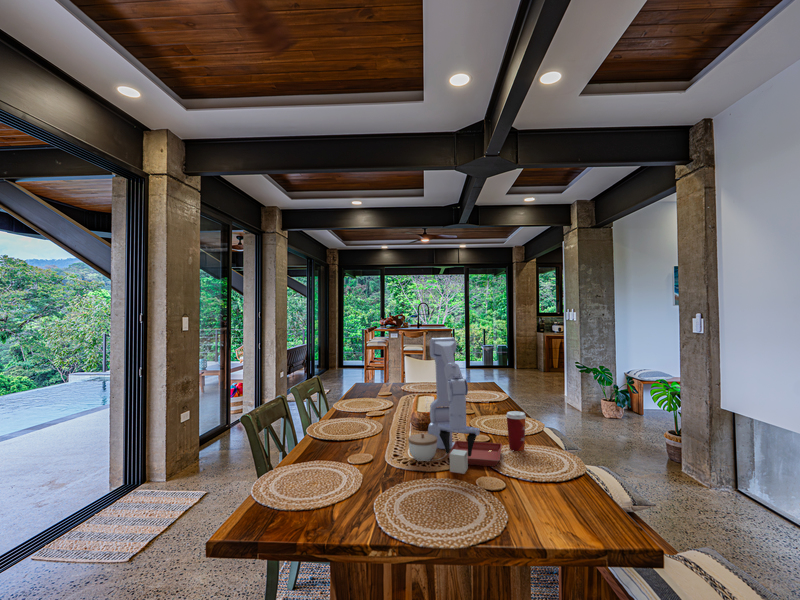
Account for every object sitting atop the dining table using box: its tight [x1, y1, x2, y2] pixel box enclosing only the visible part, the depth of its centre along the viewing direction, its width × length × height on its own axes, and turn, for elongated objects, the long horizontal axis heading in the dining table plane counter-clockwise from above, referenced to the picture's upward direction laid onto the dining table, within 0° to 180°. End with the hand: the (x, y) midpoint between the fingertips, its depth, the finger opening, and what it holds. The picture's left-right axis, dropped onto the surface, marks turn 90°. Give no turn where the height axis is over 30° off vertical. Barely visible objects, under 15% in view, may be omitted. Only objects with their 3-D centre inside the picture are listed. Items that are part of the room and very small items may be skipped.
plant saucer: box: [447, 440, 503, 467], centre depth 148 cm, size 18×18×3 cm
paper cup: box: [505, 410, 527, 452], centre depth 156 cm, size 8×8×14 cm
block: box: [449, 449, 469, 475], centre depth 137 cm, size 5×5×6 cm
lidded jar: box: [407, 432, 438, 462], centre depth 148 cm, size 11×11×9 cm
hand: (458, 454), depth 137 cm, fingers open, 7 cm apart
